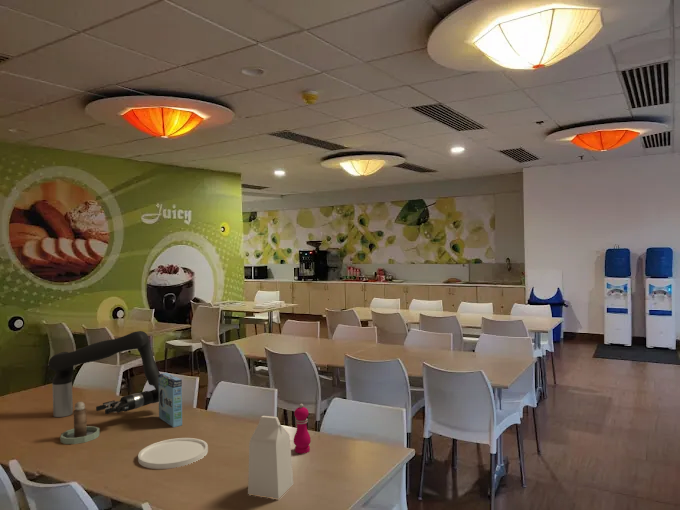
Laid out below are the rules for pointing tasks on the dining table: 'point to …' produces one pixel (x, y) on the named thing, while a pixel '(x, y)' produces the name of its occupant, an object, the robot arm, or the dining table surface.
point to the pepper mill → (302, 431)
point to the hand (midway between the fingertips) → (100, 410)
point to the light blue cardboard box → (170, 399)
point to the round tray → (69, 437)
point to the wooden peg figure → (80, 420)
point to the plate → (172, 453)
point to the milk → (270, 459)
